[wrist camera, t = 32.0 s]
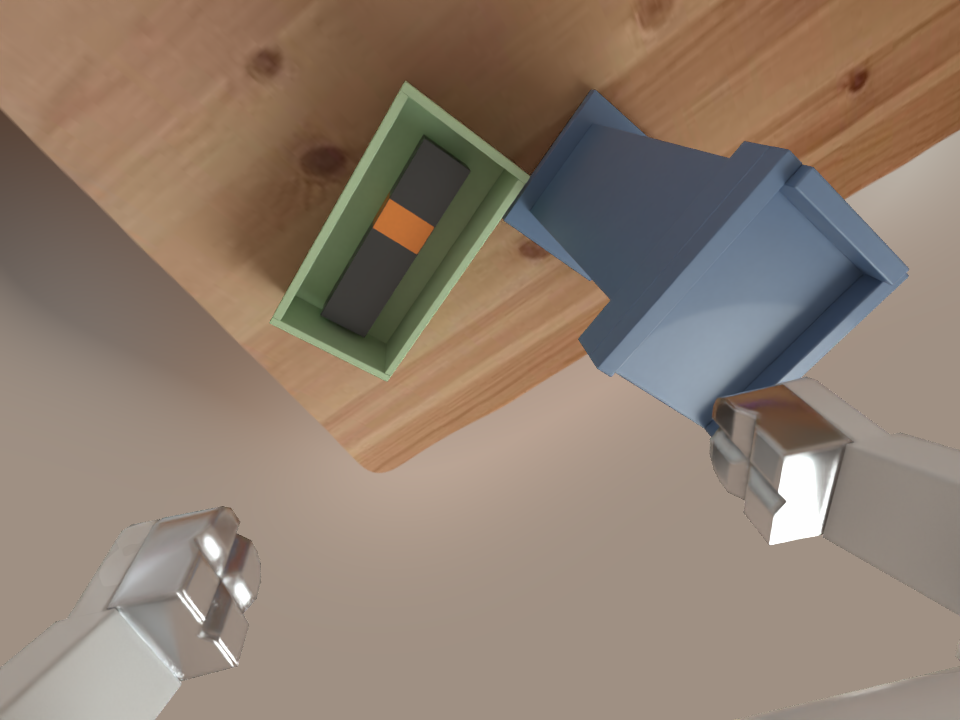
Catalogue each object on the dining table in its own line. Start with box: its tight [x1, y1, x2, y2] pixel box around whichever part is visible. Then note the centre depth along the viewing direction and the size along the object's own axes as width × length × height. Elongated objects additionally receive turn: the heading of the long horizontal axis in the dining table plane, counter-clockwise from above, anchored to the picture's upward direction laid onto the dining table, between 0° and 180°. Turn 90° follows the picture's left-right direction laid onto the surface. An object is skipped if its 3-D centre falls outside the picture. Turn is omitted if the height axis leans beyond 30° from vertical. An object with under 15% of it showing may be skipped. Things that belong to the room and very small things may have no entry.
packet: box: [321, 134, 471, 338], centre depth 45 cm, size 18×4×3 cm, turn 145°
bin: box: [269, 80, 530, 381], centre depth 44 cm, size 22×11×7 cm, turn 145°
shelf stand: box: [502, 90, 909, 437], centre depth 36 cm, size 14×11×28 cm
